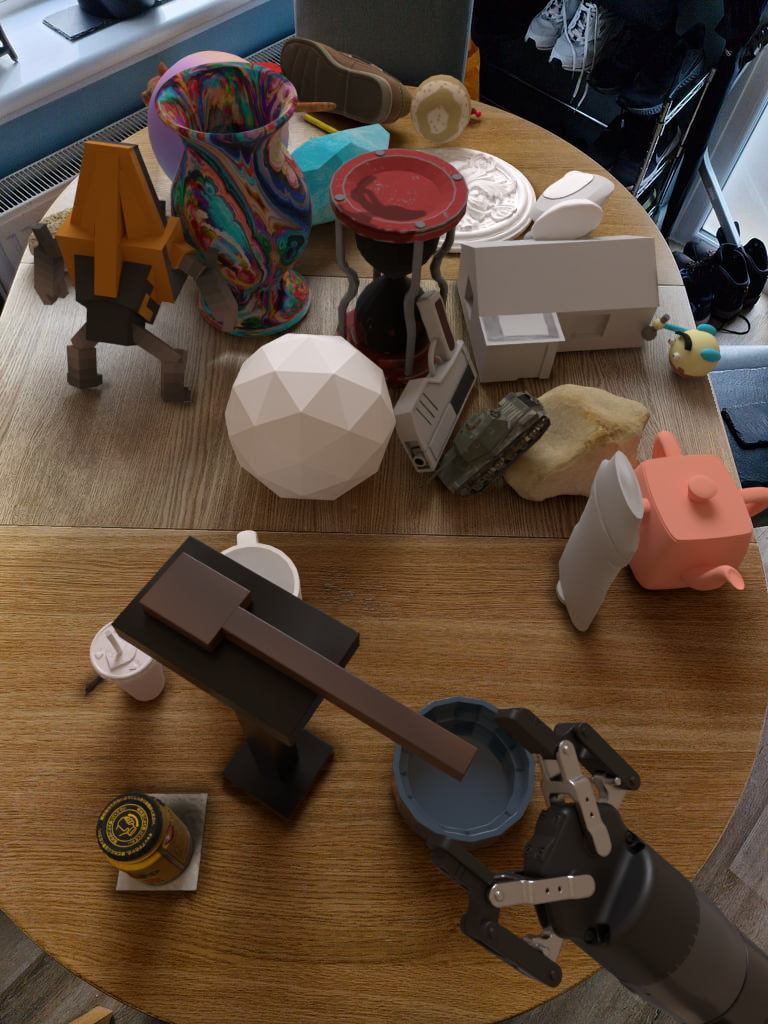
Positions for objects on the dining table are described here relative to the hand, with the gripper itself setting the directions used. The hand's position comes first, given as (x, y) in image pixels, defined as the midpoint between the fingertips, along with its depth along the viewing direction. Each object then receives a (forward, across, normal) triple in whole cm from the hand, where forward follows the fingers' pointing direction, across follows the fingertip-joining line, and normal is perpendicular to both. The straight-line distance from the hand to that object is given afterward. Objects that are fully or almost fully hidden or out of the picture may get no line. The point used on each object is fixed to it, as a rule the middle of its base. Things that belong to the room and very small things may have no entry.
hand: (470, 773), depth 45 cm
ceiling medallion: (+25, -91, +51) cm, 107 cm away
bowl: (-15, -8, +28) cm, 33 cm away
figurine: (-12, -74, +21) cm, 78 cm away
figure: (+41, -109, +56) cm, 130 cm away
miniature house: (+2, -72, +37) cm, 81 cm away
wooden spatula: (+10, 0, +5) cm, 12 cm away
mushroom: (+36, -113, +51) cm, 129 cm away
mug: (+8, -12, +42) cm, 44 cm away
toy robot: (+38, -30, +59) cm, 77 cm away
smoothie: (+13, 0, +44) cm, 46 cm away
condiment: (+3, +11, +39) cm, 40 cm away
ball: (+57, -75, +46) cm, 105 cm away
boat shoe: (+55, -101, +62) cm, 130 cm away
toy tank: (-1, -43, +32) cm, 54 cm away
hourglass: (+17, -56, +46) cm, 75 cm away
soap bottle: (+9, -79, +29) cm, 85 cm away
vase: (+36, -53, +57) cm, 86 cm away
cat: (+52, -78, +67) cm, 115 cm away
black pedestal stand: (-1, 0, +36) cm, 36 cm away
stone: (-9, -51, +31) cm, 60 cm away
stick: (+18, +1, +47) cm, 50 cm away
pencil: (+48, -97, +64) cm, 126 cm away
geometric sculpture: (+14, -33, +45) cm, 57 cm away
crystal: (+42, -60, +54) cm, 91 cm away
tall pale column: (-16, -34, +27) cm, 46 cm away
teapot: (-22, -44, +24) cm, 55 cm away
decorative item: (+57, -45, +68) cm, 100 cm away
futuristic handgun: (+18, -47, +30) cm, 59 cm away
